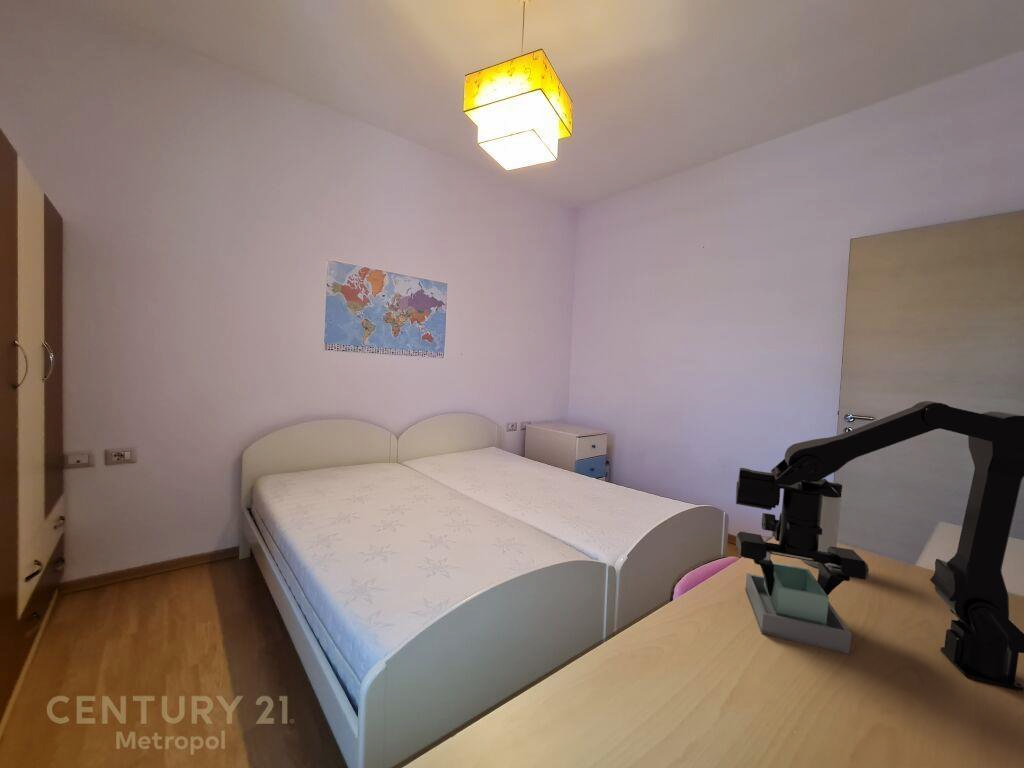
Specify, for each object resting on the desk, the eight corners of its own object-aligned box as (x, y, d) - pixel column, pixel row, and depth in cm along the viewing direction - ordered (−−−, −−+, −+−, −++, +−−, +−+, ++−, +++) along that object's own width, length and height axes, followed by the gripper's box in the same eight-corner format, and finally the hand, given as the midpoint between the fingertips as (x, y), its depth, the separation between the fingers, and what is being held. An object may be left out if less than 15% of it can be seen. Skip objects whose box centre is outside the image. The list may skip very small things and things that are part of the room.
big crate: (817, 604, 78) (818, 587, 78) (849, 654, 65) (851, 633, 65) (745, 589, 83) (746, 573, 82) (761, 633, 69) (763, 614, 69)
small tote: (763, 586, 80) (765, 561, 79) (806, 594, 77) (808, 569, 77) (777, 615, 70) (779, 587, 70) (826, 626, 68) (828, 597, 68)
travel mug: (794, 559, 97) (801, 476, 95) (810, 554, 99) (818, 473, 98) (823, 572, 91) (832, 484, 89) (840, 567, 94) (849, 481, 92)
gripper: (845, 508, 77) (837, 588, 78) (734, 493, 83) (728, 567, 84) (874, 531, 66) (865, 623, 68) (744, 512, 73) (737, 596, 74)
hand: (793, 599), depth 74 cm, fingers closed on small tote, 7 cm apart
